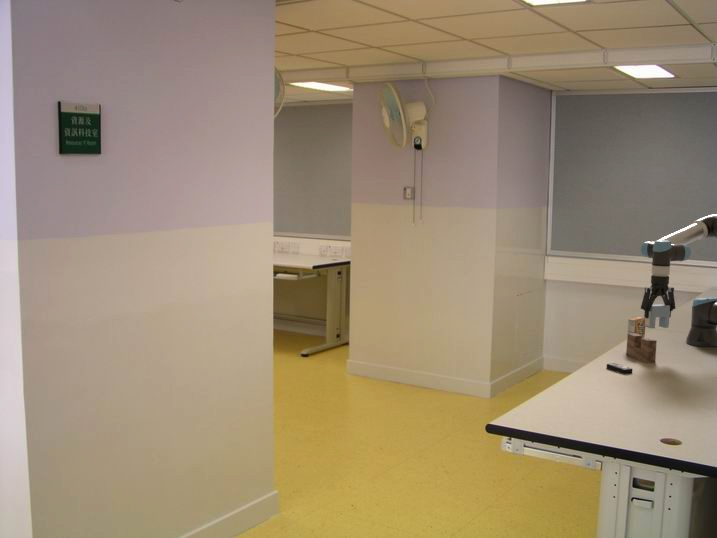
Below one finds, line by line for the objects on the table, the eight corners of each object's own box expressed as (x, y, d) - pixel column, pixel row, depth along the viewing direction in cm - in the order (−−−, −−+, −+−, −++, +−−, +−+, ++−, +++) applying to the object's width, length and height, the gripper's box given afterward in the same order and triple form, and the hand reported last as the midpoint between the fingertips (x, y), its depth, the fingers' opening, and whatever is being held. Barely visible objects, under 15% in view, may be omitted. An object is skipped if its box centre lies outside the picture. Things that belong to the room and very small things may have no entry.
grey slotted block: (662, 326, 358) (664, 304, 357) (668, 327, 354) (669, 305, 353) (645, 326, 356) (646, 304, 354) (651, 328, 352) (652, 306, 351)
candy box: (636, 348, 380) (638, 316, 378) (644, 349, 377) (646, 318, 375) (626, 350, 375) (627, 318, 373) (634, 352, 372) (636, 320, 370)
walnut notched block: (634, 354, 367) (635, 333, 365) (655, 362, 351) (656, 340, 350) (626, 354, 366) (627, 333, 364) (647, 363, 350) (648, 340, 349)
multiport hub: (624, 375, 330) (624, 369, 330) (606, 369, 340) (606, 363, 340) (632, 374, 332) (632, 368, 332) (614, 368, 342) (614, 362, 342)
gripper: (675, 273, 359) (672, 322, 361) (634, 274, 353) (630, 324, 355) (686, 275, 352) (683, 325, 354) (644, 276, 346) (641, 327, 348)
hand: (656, 325), depth 355 cm, fingers closed on grey slotted block, 9 cm apart
